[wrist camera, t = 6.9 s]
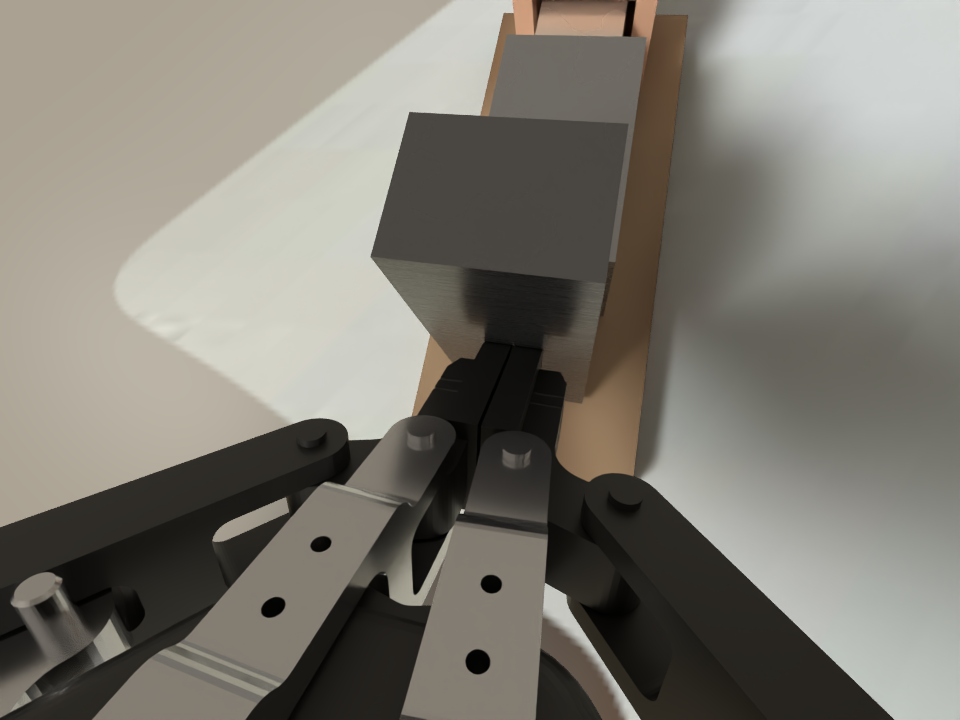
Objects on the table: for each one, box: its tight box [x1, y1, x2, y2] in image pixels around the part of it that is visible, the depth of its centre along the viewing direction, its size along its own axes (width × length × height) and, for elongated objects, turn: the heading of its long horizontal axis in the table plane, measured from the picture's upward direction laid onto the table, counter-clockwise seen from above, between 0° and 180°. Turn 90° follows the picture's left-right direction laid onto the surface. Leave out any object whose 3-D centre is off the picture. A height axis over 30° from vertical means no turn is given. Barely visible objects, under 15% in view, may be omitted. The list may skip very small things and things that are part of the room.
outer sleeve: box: [489, 34, 647, 317], centre depth 18 cm, size 5×8×4 cm, turn 169°
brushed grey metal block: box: [371, 0, 629, 404], centre depth 15 cm, size 4×16×10 cm, turn 169°
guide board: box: [412, 13, 688, 482], centre depth 21 cm, size 8×20×2 cm, turn 169°
